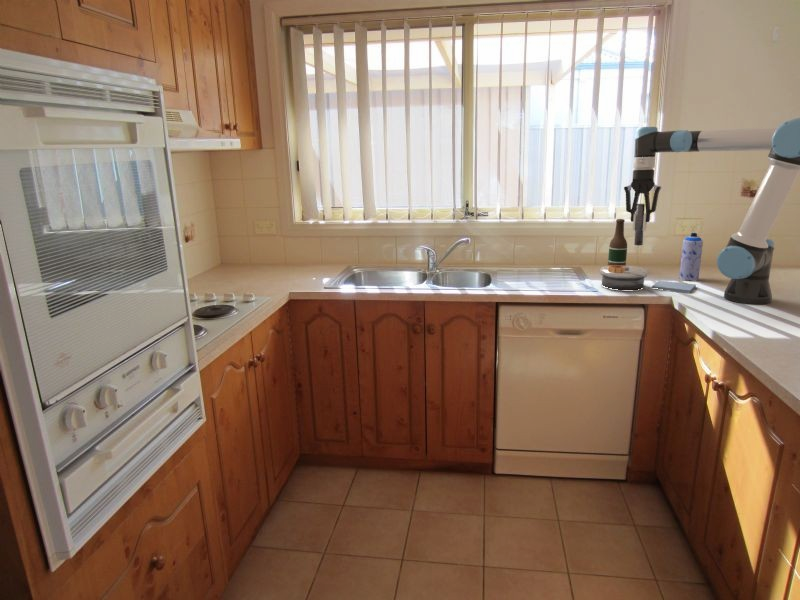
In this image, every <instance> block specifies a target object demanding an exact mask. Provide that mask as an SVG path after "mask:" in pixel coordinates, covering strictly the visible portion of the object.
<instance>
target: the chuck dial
mask: <svg viewBox="0 0 800 600" xmlns="http://www.w3.org/2000/svg"><path fill="white" fill-rule="evenodd" d="M648 273H649V272H648V269H647V268H644V267H640V266H634V265H626V266H625V265H610V266H608V265H605V266H602V267H600V269H599V274H600V275H601V276H602V275H603V276H606V277H611V278H619V279H640V278H644V279H645V278H647V277H648Z"/></svg>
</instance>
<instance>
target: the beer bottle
mask: <svg viewBox="0 0 800 600" xmlns="http://www.w3.org/2000/svg"><path fill="white" fill-rule="evenodd" d="M625 221H626V220H625V219H624V218H617V219H615V223H616V225H615V231H614V235H613V237H612V239H611V240H610V242H609V247H608V257H607V258H608V259H607V260H608V261H607V266H610V265H625V266H627V255H628V242H627V239H626V238H625V234H624V233H625V232H624V231H625Z"/></svg>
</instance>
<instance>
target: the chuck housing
mask: <svg viewBox="0 0 800 600" xmlns="http://www.w3.org/2000/svg"><path fill="white" fill-rule="evenodd" d="M601 276H602V277H601V286H602V285H603V286H605V287H608V288H612V289H618V290H638V289H641V288H643V289H644V287H645V284H644V283H645V278H640V279H619V278H611V277H606V276H603V275H601Z"/></svg>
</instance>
